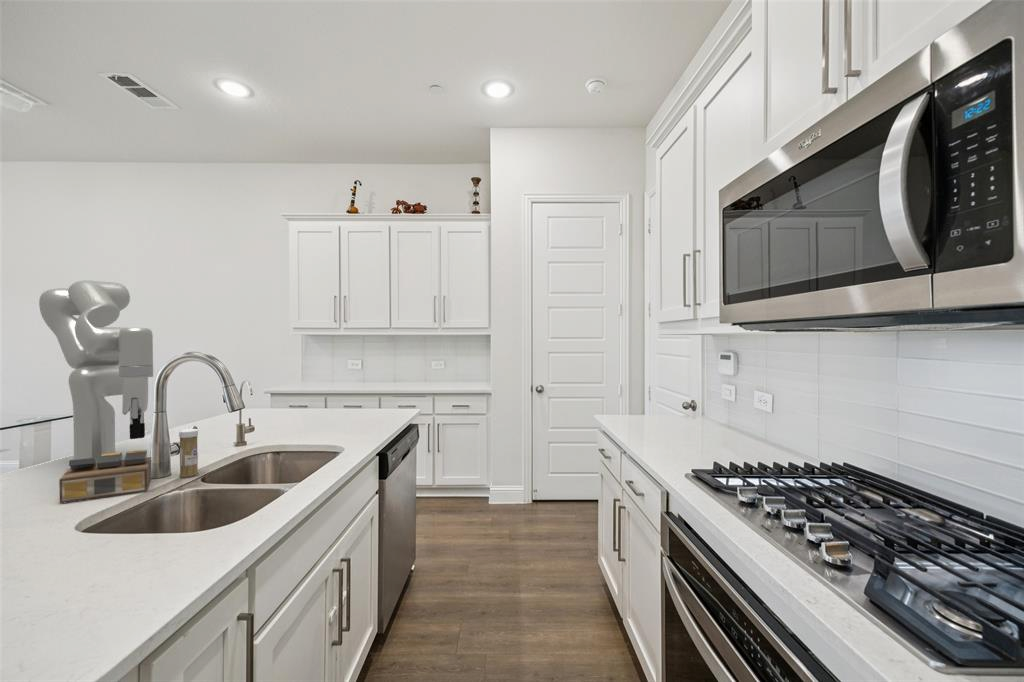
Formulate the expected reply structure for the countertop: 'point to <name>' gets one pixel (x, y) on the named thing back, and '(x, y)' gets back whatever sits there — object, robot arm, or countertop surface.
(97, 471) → the switch unit
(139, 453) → the rocker
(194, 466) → the sprinkles bottle
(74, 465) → the rocker
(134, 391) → the robot arm
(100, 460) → the rocker
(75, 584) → the countertop surface
